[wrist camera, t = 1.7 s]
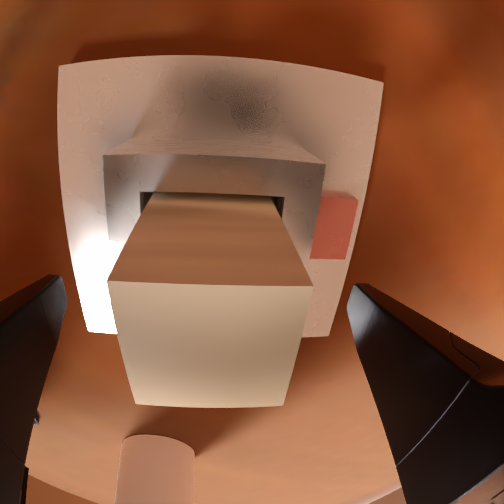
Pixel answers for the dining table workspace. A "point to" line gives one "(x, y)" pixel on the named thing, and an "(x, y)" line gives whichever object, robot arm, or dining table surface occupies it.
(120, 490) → the cylindrical container
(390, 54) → the dining table surface
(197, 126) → the sleeve stand
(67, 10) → the dining table surface
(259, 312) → the post
